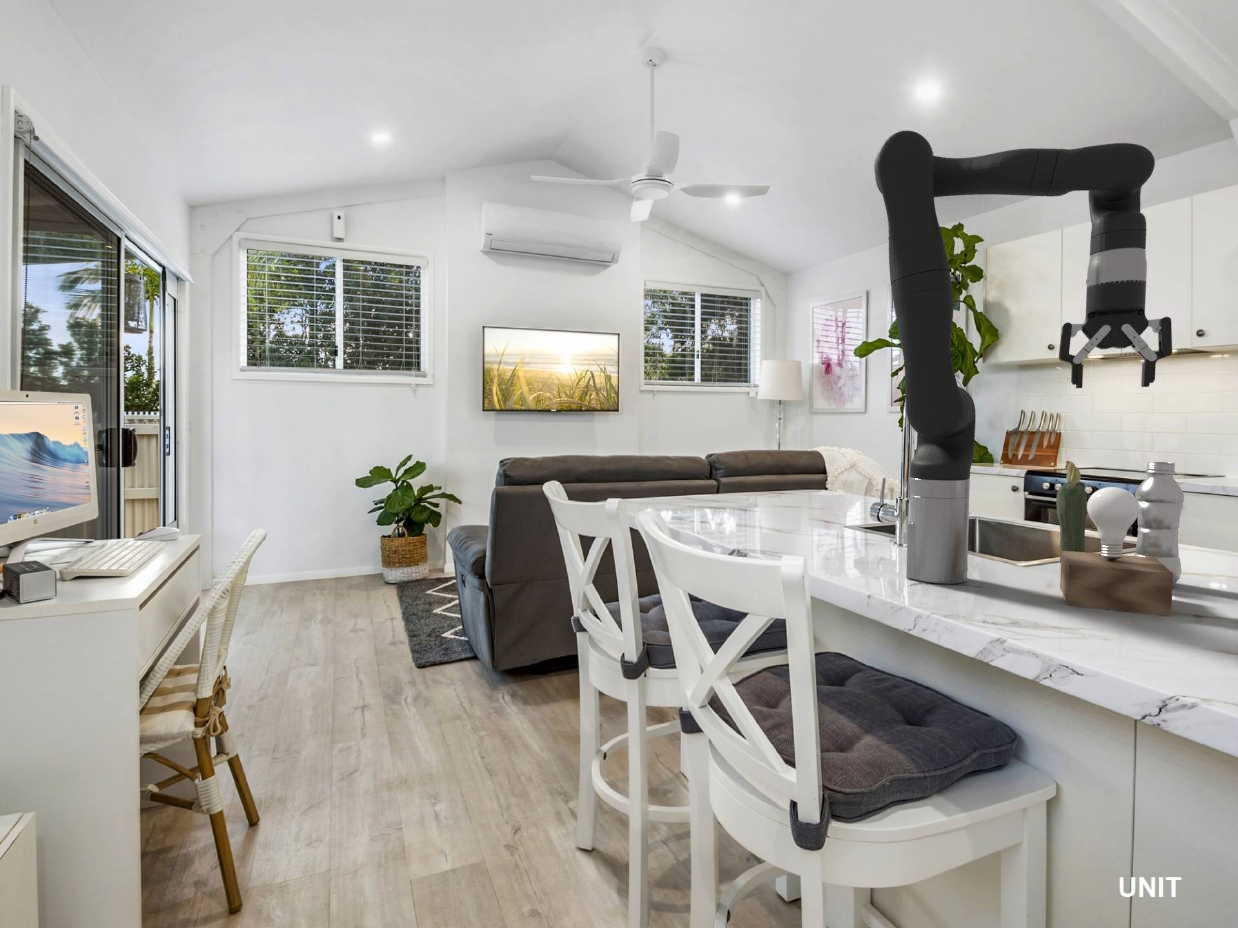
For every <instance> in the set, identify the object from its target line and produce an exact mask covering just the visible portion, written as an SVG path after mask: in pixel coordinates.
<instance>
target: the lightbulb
mask: <svg viewBox="0 0 1238 928" xmlns="http://www.w3.org/2000/svg"><path fill="white" fill-rule="evenodd" d="M1086 513H1087V515H1088V517H1089V518H1090V520H1091V521H1092V523H1094V524H1093V525H1095V527H1096V529H1097V533H1098V537H1099V538H1100V544H1101V546H1100V547H1101V548H1100V550H1101V551H1100V554H1101V556H1103V557H1104V558H1106V559H1107V560H1112V561H1115V560H1117V559H1119V558H1121V557H1123V555H1124V554H1123V550H1124V549H1123V547H1124V546H1123V545H1124V541H1125V539H1126V537H1127V533H1128V531H1129V529H1130V527H1131V526H1132V525H1133V524H1134V522H1135V521H1136V520H1137V519H1138V514H1139V504H1138V501H1137V499H1136V498H1135V494H1133V493H1131V492H1130V491H1129V490H1127V489H1125V488H1123V487H1122V488H1121V487H1118V486H1107V487H1103V488H1099V489H1098V490H1096V491H1094V492H1093V493H1092V494H1091V496H1090V497H1089V498H1088V499H1087V510H1086Z"/></svg>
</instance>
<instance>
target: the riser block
mask: <svg viewBox="0 0 1238 928" xmlns="http://www.w3.org/2000/svg"><path fill="white" fill-rule="evenodd" d="M1059 583H1060V585H1059V587H1060V591H1061V592H1062V593H1061V594H1062V595H1063V598H1064V600H1065V603H1066V605H1067V606H1073V607H1082V608H1090V609H1092V608H1093V609H1100V610H1101V609H1102V610H1108V611H1109V610H1110V611H1118V612H1119V611H1120V612H1130V613H1139V614H1148V615H1156V616H1157V615H1158V616H1168V617H1170V616H1172V607H1173V606H1172V601H1173V585H1174V584H1173V573H1172V572H1171V571H1170V570H1169V569H1168V568H1166V567H1165V566H1164V565H1163V564H1162V563H1161V562H1159V561H1158V560H1157V559H1156V558H1155V557H1142V556H1134V555H1127V554H1125V555H1124V554H1123V557H1121V558H1119V559H1117V560H1115V561H1112V560H1107V559H1106V558H1104V557H1103V556H1101V552H1100V553H1099V552H1097V553H1096V552H1086V551H1085V552H1073V551H1062V552H1061V563H1060V582H1059Z"/></svg>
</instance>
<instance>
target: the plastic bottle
mask: <svg viewBox="0 0 1238 928" xmlns="http://www.w3.org/2000/svg"><path fill="white" fill-rule="evenodd" d="M1175 467H1176V463H1175V462H1170V461H1169V462H1166V461H1165V462H1164V461H1148V462H1147V463H1146V470H1145V474H1147V477H1146V478H1145V479H1144V480H1143V481H1142V482H1141V483H1140V484H1139V485H1138V487H1137V488H1136V490H1135V493H1134V497H1135V498H1136V499H1137V501H1138V504H1139V514H1138V517H1137V526H1138V527H1137V537H1136V546H1135V552H1134V555H1133V556H1142V557H1155V558H1156V559H1157V560H1158V561H1159V562H1161V563H1162V564H1163V565H1164V566H1165V567H1166V568H1168V569H1169V570H1170V571H1171V572H1172V573H1173V585H1175V584H1176V583H1178V581H1179V580H1180V579H1181V576H1182V564H1181V558H1180V552H1179V549H1180V548H1179V528H1180V519H1181V516H1182V511H1183V507H1184V506H1183V505H1184V501H1185V494H1184V491H1183V489H1182V488H1181V485H1180V484H1179V483H1178V482H1177V481H1176V480H1175V478H1174V477H1173V475H1175V474H1176V471H1175V470H1176V468H1175Z"/></svg>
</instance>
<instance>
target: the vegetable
mask: <svg viewBox="0 0 1238 928" xmlns="http://www.w3.org/2000/svg"><path fill="white" fill-rule="evenodd" d="M1064 470H1066V476H1065V477H1066V478H1065V479H1066V481H1067V482H1065V483H1062V485H1061V486H1060V487H1059V489H1058V491H1057V493H1056V500H1055V503H1056V514H1057V519H1058V523H1059V531H1060V532H1059V533H1060V534H1059V535H1060V539H1059V551H1060V552H1059V556H1060V557H1059V561H1060V564H1061V552H1062V551H1073V552H1086V543H1085V542H1086V541H1085V540H1086V537H1085V536H1086V521H1087V520H1086V519H1087V503H1088V496H1087V493H1086V489H1085V488H1084V486H1082V485H1081V484H1080V481H1081V478H1082V476H1081V472H1080V469H1078V467H1077V466H1076V464H1075V463H1074V462H1072V461H1071V460H1066V462H1065V465H1064Z"/></svg>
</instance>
